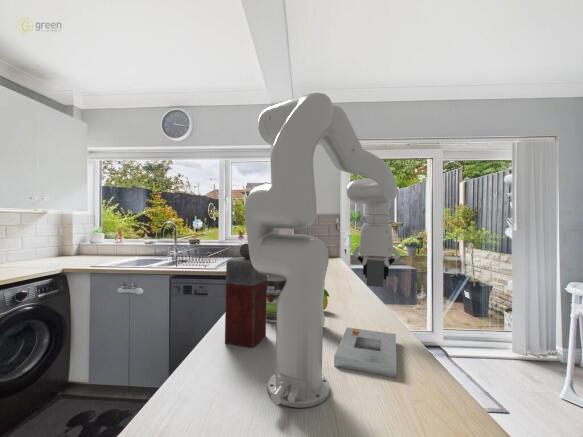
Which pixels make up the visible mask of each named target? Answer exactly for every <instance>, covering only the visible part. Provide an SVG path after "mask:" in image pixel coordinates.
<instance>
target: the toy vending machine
mask: <svg viewBox="0 0 583 437" xmlns="http://www.w3.org/2000/svg"><path fill="white" fill-rule="evenodd" d="M239 254H240V256H241V257H235V258H231V259H229V260H227V261H226V267H225V268H226V269H225V271H226V273H225V311H224V313H225V314H224V315H225V317H224V318H225V319H224V322H225V323H224V344H225V345H231V346H236V347H242V348H249V349H254V348H255V347H257V346H258V345H259V344H260V343H261V342H262V341H263V340H264V339H265V338H266V336H267V335H266V334H267V321H266V296H267V276H266V275H262V274H260V273H258V272H257V271H256V270H255V269H254V267H253V265H252V263H251V259H250V254H249V247H248V242H246V243H243V244H242V245H241V246H240V247H239Z"/></svg>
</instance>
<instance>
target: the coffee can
mask: <svg viewBox="0 0 583 437" xmlns="http://www.w3.org/2000/svg"><path fill="white" fill-rule="evenodd" d="M285 284H286V279H282V278H277V277H272V276H267V296H266V323H267V322H268V323H277V300H278V297H279V294H280V292H281V291H282V289H283V287H284V286H285Z"/></svg>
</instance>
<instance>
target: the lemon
mask: <svg viewBox="0 0 583 437" xmlns="http://www.w3.org/2000/svg"><path fill="white" fill-rule="evenodd" d="M328 298H330V294H329V292H328V291H327V290H326V289H325V288H324V294H323V310H326V308H328V305H329V304H328Z"/></svg>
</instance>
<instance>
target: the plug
mask: <svg viewBox="0 0 583 437" xmlns="http://www.w3.org/2000/svg"><path fill="white" fill-rule="evenodd" d="M384 264H385V262H384V258H378V257H368V259H367V278H366V286H367V287H377V288H378V287H379V288H384V287H385V279H384Z"/></svg>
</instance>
